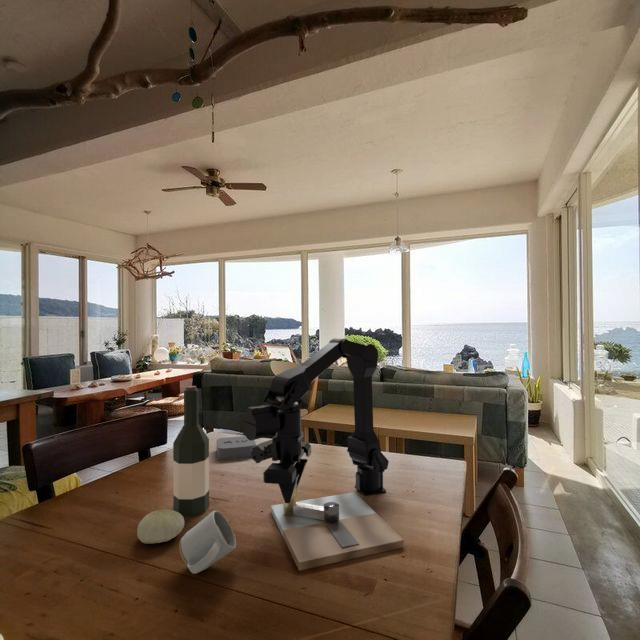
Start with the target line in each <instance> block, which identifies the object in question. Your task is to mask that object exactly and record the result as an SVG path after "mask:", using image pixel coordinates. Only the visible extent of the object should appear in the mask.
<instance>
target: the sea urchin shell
mask: <svg viewBox="0 0 640 640" xmlns="http://www.w3.org/2000/svg"><path fill="white" fill-rule="evenodd" d="M185 524H186V523H185V517H183V516H182V515H181V514H180V513H178V512H176V511H174V510H173V509H170V508H169V509H168V508H163V509H158V510H154V511H151V512H149V513H147V514H145V516H144V517H142V519H141V521H139V523H138V525H137V531H136V533H137V534H136V537H137V538H138V540H139V541H140V542H141V543H143V544H146V545H147V544H160V543H165V542H168V541H170V540H172V539H173V538H176V537H177V536H178V535H180V533H182V531H183V529H184V527H185Z"/></svg>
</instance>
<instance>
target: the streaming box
mask: <svg viewBox="0 0 640 640" xmlns="http://www.w3.org/2000/svg"><path fill="white" fill-rule="evenodd" d="M255 445H257V444H256V441H255V440H248V439H247V437H246V436H245V435H240V436H228V437H220V438H217V439H216V457H217V460H219V461H231V460H240V459H249V458H250V459H251V450H252V448H253V447H254V446H255Z"/></svg>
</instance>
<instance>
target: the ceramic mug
mask: <svg viewBox="0 0 640 640" xmlns="http://www.w3.org/2000/svg"><path fill="white" fill-rule="evenodd" d="M236 538H237V537H236V535H235V532H234V531H233V528H232V527H231V524H230V523H229V521H228V519H226V516H224V515H223V514H222V513H221V512H220V511H219V510H213V511H211V512H210V513H209V514H207V515H206V517H204V518H203V519H202V520H200V521H199V522H198V523H197V524H196V525H195V526H193V527H192V528H191V529H189V530H188V531H187V532H185V533H184V534H183V536H182V537H181V538H180V540H179V546H178V549H179V553H180V556H181V559H182V561H183V563H184V564H185V566H186V567H187V568H188V570H189V571H190V572H191V574H194V575H195V574H199V573H201V572H202V571H204V570H206V569H208V568H210V567H211V566H212V565H214V564H215V563H216V562H217V561H219V560H221V559H222V558H224V557H225V556H226V555H228V554H230V552H232V551H234V550H235V549H236V547H237V539H236Z"/></svg>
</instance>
